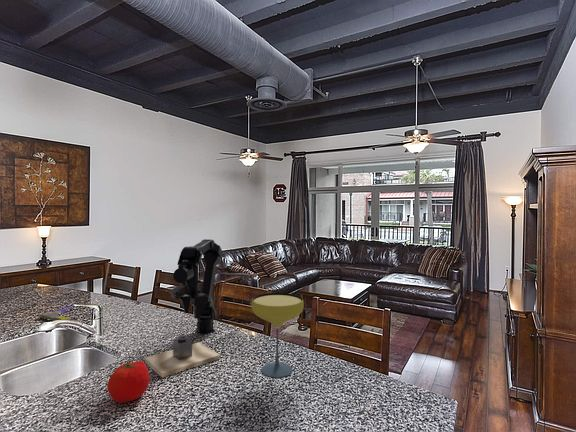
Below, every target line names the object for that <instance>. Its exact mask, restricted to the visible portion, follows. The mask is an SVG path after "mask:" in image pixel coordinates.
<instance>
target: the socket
mask: <svg viewBox="0 0 576 432" xmlns="http://www.w3.org/2000/svg"><path fill="white" fill-rule="evenodd" d="M192 344H193V340H192V339H191V338H189V337H188V336H187V335H186V334H181V335H179V336H178V337H177V338H175V339H172V350H173V356H174V357H175V358H177V359H178V360H182V359H185V358H188V357H192Z"/></svg>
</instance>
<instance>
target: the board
mask: <svg viewBox="0 0 576 432" xmlns="http://www.w3.org/2000/svg"><path fill="white" fill-rule="evenodd" d="M220 359H221V354H220V353H218V352H216V351H215V350H213V349H212V348H210V347H208V346H207V345H205V344H204V343H202V342H195V343H192V357H188V358H185V359H182V360H178V359H177V358H175V357H174V356H173V349H170V350H167V351H164V352H160V353H157V354H153V355H149V356H146V357H144V364H145V365H146V364H147V366H148V367H150V368H151V369H152V370H153V371H154V372H155V373H156V374H158V376H159V377H161V378H162V379H163V378H165V377H166V378H167V377H169V375H170V376H172V374H173V375H175V373H176V374H179V373H181V371H182V372H184V371H183V370H185V371H187V370H186V369H188V370H191V369H193V367H194V368H196V367H199V366H202V365H205V364H209V363H211V362H215V361H217V360H220ZM190 368H191V369H190ZM178 372H179V373H178Z"/></svg>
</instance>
